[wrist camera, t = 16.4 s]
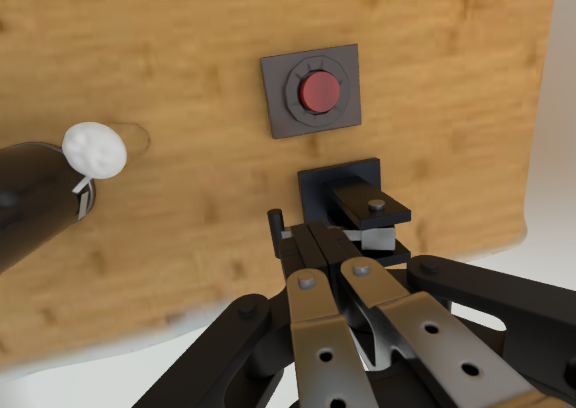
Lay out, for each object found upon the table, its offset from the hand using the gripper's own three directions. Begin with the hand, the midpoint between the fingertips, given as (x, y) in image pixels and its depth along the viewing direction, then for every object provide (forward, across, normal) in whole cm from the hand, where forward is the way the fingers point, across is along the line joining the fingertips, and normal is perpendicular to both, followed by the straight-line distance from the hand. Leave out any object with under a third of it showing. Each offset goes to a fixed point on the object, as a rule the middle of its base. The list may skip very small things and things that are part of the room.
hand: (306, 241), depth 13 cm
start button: (+18, -6, -6) cm, 20 cm away
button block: (+21, -6, -6) cm, 23 cm away
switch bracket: (+21, -8, +6) cm, 23 cm away
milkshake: (+22, +14, -4) cm, 26 cm away
